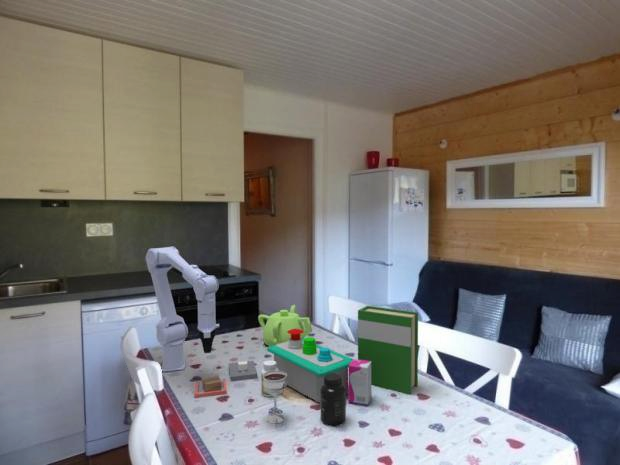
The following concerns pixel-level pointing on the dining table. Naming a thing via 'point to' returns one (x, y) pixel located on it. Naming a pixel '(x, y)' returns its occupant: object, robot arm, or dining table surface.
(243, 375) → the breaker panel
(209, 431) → the dining table surface
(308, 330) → the teapot
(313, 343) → the control panel
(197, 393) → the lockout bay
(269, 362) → the supplement bottle
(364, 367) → the supplement box
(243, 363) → the switch
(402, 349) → the hardback book
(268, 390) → the wineglass
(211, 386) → the block
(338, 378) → the supplement bottle
